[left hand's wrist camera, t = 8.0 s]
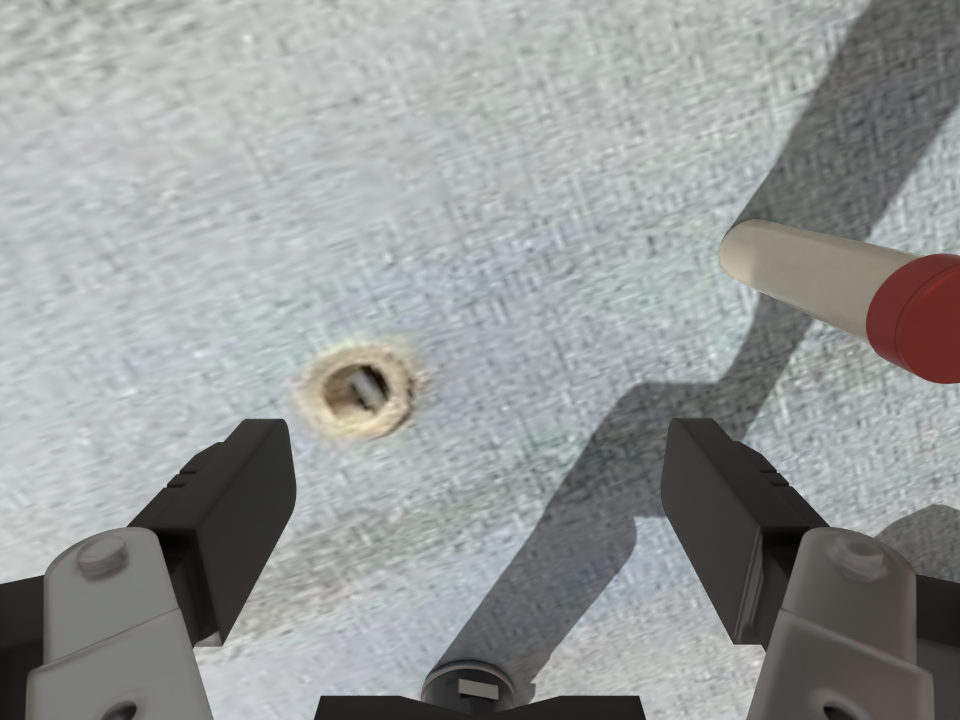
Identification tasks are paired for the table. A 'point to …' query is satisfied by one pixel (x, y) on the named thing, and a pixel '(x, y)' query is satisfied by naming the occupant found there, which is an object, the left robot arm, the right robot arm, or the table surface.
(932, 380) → the lid
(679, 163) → the table surface
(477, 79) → the table surface
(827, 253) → the slim white bottle
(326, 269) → the table surface
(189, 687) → the left robot arm
